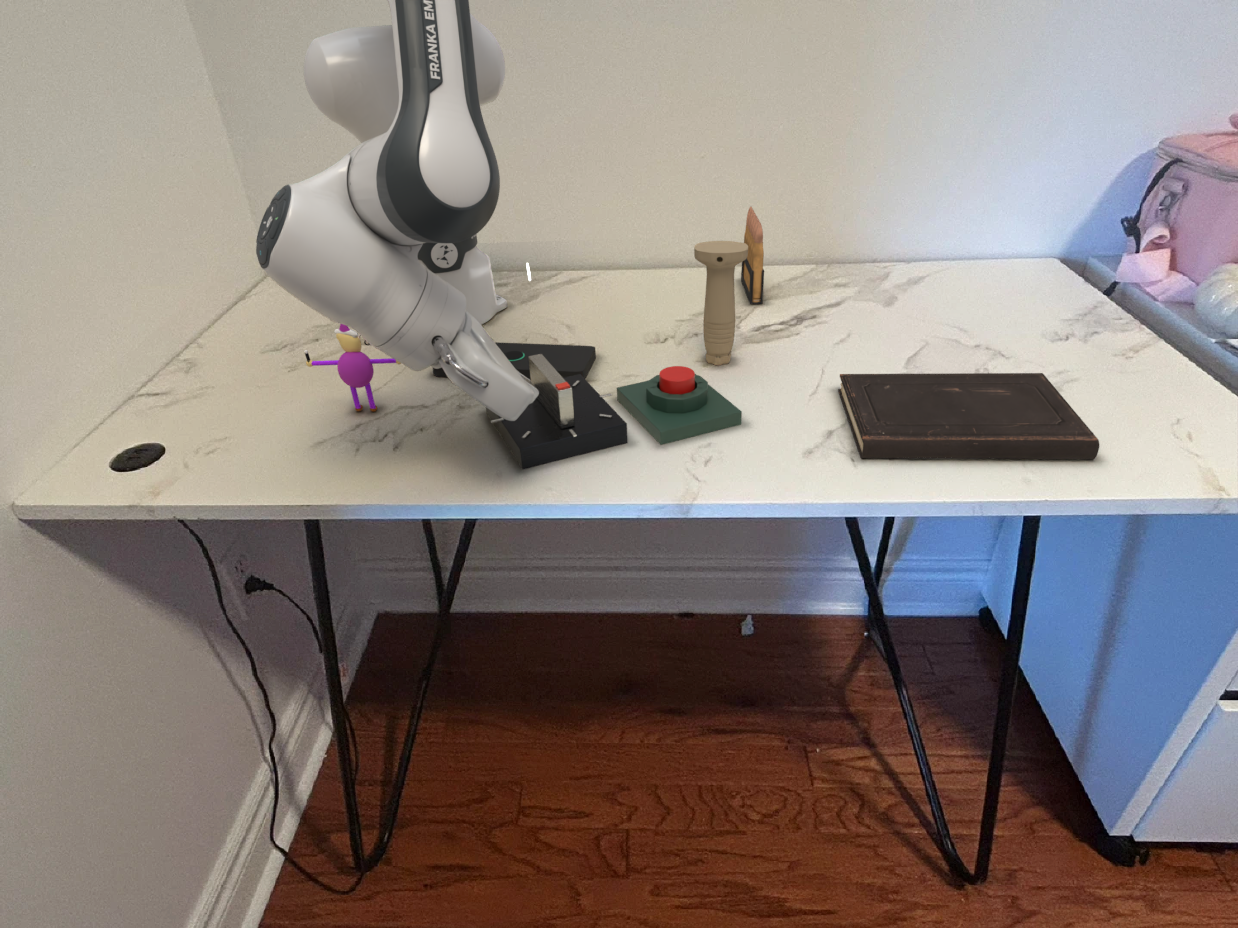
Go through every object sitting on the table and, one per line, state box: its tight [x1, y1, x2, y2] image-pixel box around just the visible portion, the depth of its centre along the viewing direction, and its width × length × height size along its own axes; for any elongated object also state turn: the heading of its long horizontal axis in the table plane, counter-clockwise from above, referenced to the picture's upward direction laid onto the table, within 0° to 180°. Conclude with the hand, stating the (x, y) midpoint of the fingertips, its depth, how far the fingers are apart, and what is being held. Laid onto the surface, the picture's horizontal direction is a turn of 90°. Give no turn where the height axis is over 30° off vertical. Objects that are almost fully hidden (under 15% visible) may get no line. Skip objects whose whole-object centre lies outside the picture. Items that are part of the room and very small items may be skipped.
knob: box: [528, 354, 575, 429], centre depth 91 cm, size 10×2×5 cm, turn 23°
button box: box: [616, 373, 743, 446], centre depth 94 cm, size 12×10×4 cm
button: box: [658, 365, 696, 394], centre depth 93 cm, size 4×4×2 cm
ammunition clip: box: [740, 206, 765, 305], centre depth 125 cm, size 11×2×12 cm, turn 0°
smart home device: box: [432, 341, 597, 381], centre depth 107 cm, size 8×2×20 cm
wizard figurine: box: [303, 323, 403, 413], centre depth 95 cm, size 11×3×12 cm, turn 89°
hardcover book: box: [837, 372, 1100, 460], centre depth 90 cm, size 16×23×2 cm
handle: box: [693, 240, 748, 367], centre depth 103 cm, size 5×6×15 cm
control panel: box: [485, 374, 628, 470], centre depth 93 cm, size 14×14×3 cm
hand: (531, 393), depth 87 cm, fingers closed
